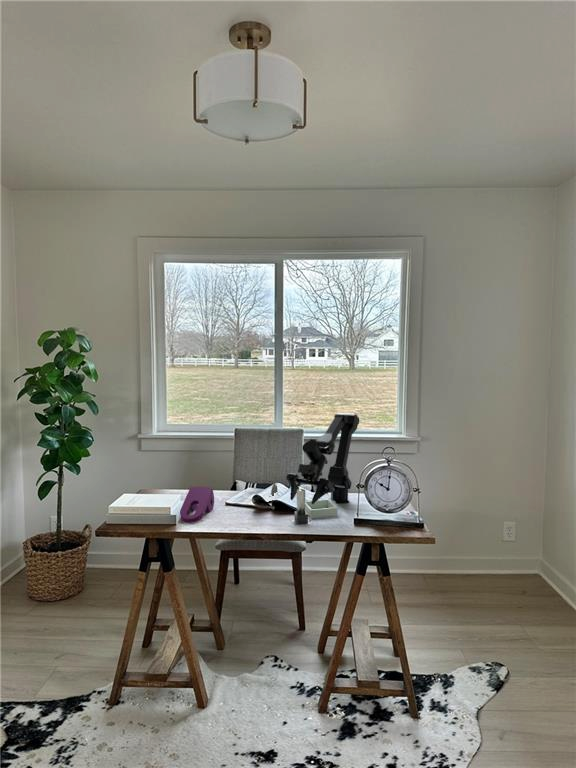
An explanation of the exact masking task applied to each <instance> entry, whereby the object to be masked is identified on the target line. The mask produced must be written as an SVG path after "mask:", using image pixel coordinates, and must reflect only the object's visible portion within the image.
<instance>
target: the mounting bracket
mask: <svg viewBox="0 0 576 768" xmlns="http://www.w3.org/2000/svg"><path fill="white" fill-rule="evenodd" d="M214 506H215V494H214V489H213V487H210V486H209V487H207V486H190V487H189V489H188V492H187V494H186V496H185V498H184V501H183V503H182V505H181V508H180V510H179V514H180V518H181V520H182V521H183V522H185V523H196V522H198V521H200V520H201V519H202V518H203V517H204V516H205V513H210V512H212V511H213V509H214ZM190 512H194V513H193V514H192V515H190Z"/></svg>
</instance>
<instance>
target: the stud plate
mask: <svg viewBox="0 0 576 768" xmlns="http://www.w3.org/2000/svg"><path fill="white" fill-rule="evenodd" d="M299 515H300V514H299ZM289 519H290V521H291V522H292V524H293V525H294V526H300V525H301V526H302V525H310V524H313V522H312V521H311V520H310V517H308V523H297V522H296V521H295V520H294V517H293V518H289Z"/></svg>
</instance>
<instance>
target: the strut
mask: <svg viewBox="0 0 576 768" xmlns="http://www.w3.org/2000/svg"><path fill="white" fill-rule="evenodd" d="M305 501H306V488H305V489H304V488H299V489H298V490H297V493H296V511H294V514H293V515H294V517H293V518H294V520H295V521H296V522H297V523H308V518H309V515H308V514H307V512H306V511H305ZM299 514H300V515H299Z"/></svg>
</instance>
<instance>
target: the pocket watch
mask: <svg viewBox="0 0 576 768" xmlns="http://www.w3.org/2000/svg"><path fill="white" fill-rule="evenodd" d="M275 482H276V478H275V479H274V480H273V482H272V484H273V485H272V486H271V490H270V491H271V492H270V495H272V496H274V493H276V492H277V493H278V484H276V483H275Z"/></svg>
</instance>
